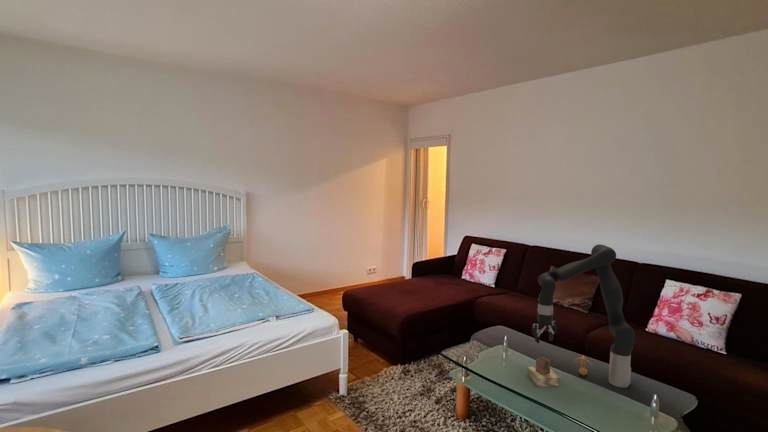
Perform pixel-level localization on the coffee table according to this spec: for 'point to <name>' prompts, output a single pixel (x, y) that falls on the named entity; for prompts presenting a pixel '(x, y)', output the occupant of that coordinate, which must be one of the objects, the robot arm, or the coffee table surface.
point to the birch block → (543, 378)
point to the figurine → (583, 370)
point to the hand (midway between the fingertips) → (544, 341)
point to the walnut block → (543, 366)
